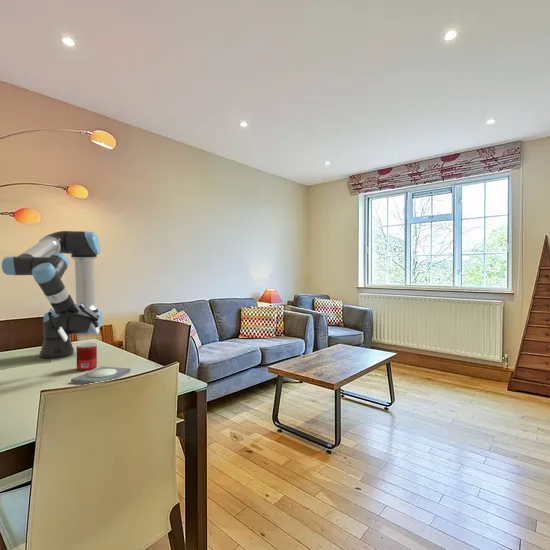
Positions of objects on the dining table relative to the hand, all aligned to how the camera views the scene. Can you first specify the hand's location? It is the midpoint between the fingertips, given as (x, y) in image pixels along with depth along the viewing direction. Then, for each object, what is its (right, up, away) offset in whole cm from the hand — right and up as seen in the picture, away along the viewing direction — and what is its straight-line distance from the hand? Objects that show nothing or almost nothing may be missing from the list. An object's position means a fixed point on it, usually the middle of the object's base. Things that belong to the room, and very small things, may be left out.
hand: (82, 336), depth 150 cm
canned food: (0, -16, +4) cm, 16 cm away
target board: (+13, -16, -8) cm, 22 cm away
